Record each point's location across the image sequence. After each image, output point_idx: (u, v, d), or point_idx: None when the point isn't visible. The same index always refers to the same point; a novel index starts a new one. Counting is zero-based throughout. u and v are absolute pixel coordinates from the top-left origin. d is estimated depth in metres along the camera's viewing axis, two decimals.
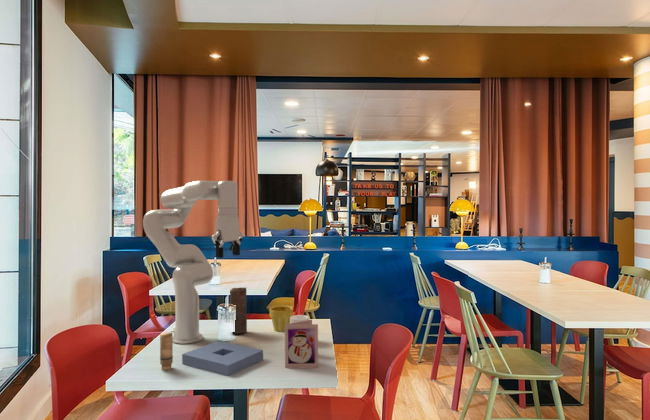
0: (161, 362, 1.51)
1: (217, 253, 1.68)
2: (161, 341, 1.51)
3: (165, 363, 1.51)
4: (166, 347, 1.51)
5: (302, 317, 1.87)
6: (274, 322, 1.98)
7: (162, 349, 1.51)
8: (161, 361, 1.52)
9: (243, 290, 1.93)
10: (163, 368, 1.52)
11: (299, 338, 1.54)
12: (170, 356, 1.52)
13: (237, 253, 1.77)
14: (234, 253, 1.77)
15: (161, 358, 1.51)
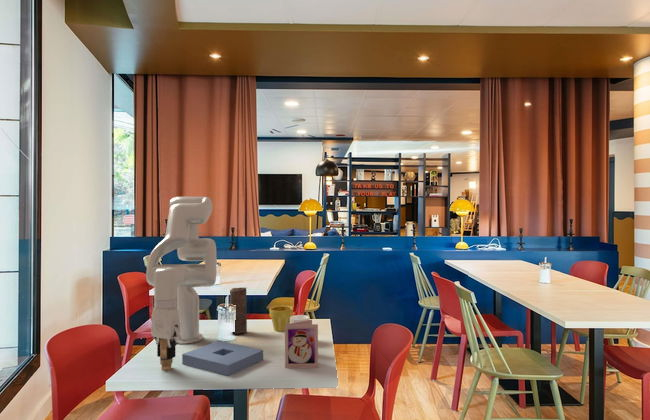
0: (161, 362, 1.51)
1: (172, 353, 1.51)
2: (161, 341, 1.51)
3: (165, 363, 1.51)
4: (166, 347, 1.51)
5: (302, 317, 1.87)
6: (274, 322, 1.98)
7: (162, 349, 1.51)
8: (161, 361, 1.52)
9: (243, 290, 1.93)
10: (163, 368, 1.52)
11: (299, 338, 1.54)
12: None
13: None
14: None
15: (161, 358, 1.51)
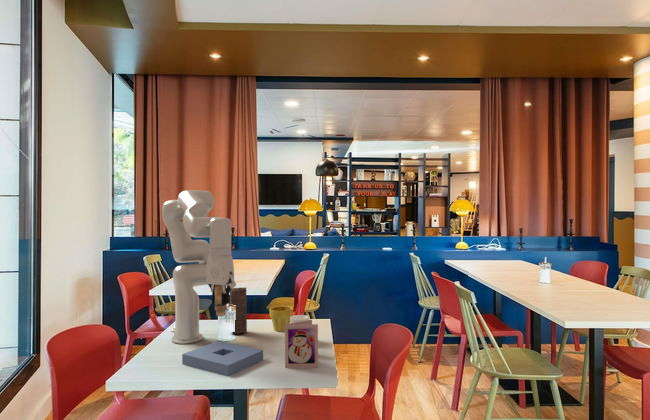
0: (216, 308, 1.58)
1: (227, 299, 1.57)
2: (216, 288, 1.58)
3: (220, 309, 1.57)
4: (221, 294, 1.57)
5: (302, 317, 1.87)
6: (274, 322, 1.98)
7: (217, 295, 1.57)
8: (215, 307, 1.58)
9: (243, 290, 1.93)
10: (218, 314, 1.58)
11: (299, 338, 1.54)
12: None
13: None
14: None
15: (216, 304, 1.58)
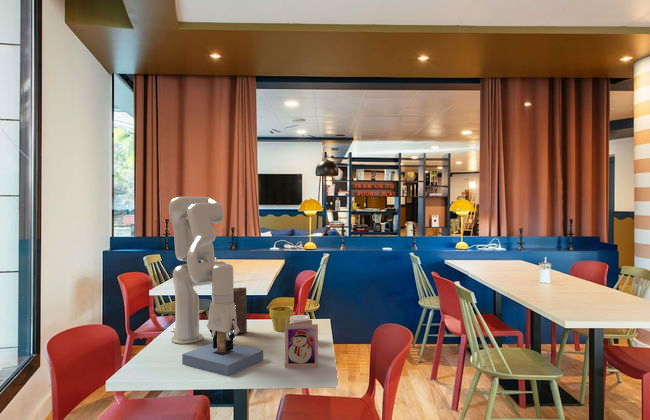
0: None
1: (231, 346, 1.57)
2: (218, 335, 1.58)
3: None
4: (223, 341, 1.58)
5: (302, 317, 1.87)
6: (274, 322, 1.98)
7: (219, 343, 1.58)
8: None
9: (243, 290, 1.93)
10: None
11: (299, 338, 1.54)
12: None
13: None
14: (216, 346, 1.61)
15: (218, 351, 1.58)
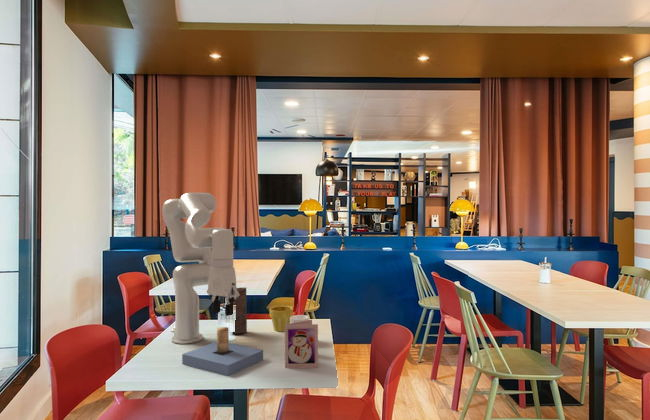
0: None
1: (230, 310, 1.57)
2: (218, 335, 1.58)
3: None
4: (223, 341, 1.58)
5: (302, 317, 1.87)
6: (274, 322, 1.98)
7: (219, 343, 1.58)
8: None
9: (243, 290, 1.93)
10: None
11: (299, 338, 1.54)
12: (227, 350, 1.59)
13: (219, 310, 1.62)
14: (216, 311, 1.60)
15: (218, 351, 1.58)
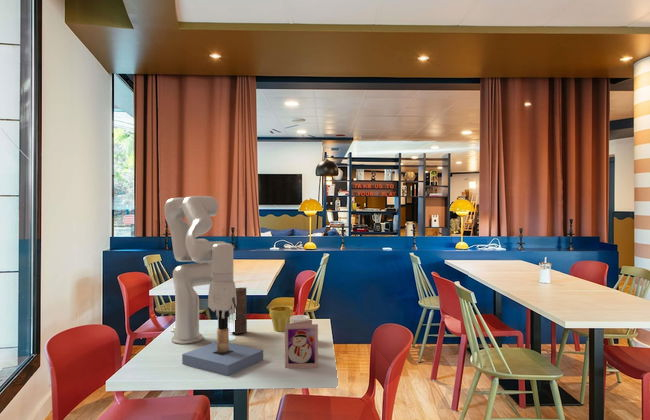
0: None
1: (225, 324, 1.59)
2: (218, 335, 1.58)
3: None
4: (223, 341, 1.58)
5: (302, 317, 1.87)
6: (274, 322, 1.98)
7: (219, 343, 1.58)
8: None
9: (243, 290, 1.93)
10: None
11: (299, 338, 1.54)
12: (227, 350, 1.59)
13: None
14: None
15: (218, 351, 1.58)
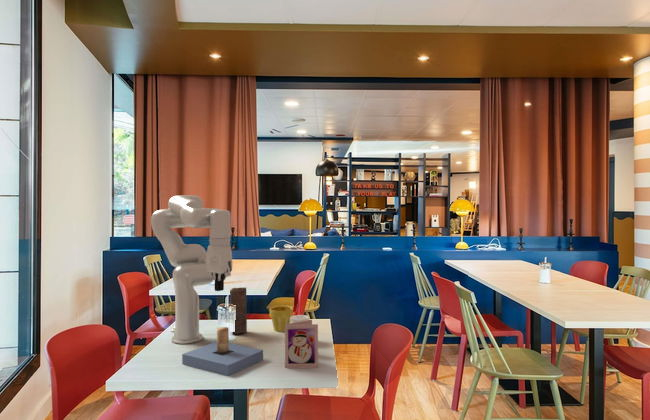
0: None
1: (221, 286, 1.68)
2: (218, 335, 1.58)
3: None
4: (223, 341, 1.58)
5: (302, 317, 1.87)
6: (274, 322, 1.98)
7: (219, 343, 1.58)
8: None
9: (243, 290, 1.93)
10: None
11: (299, 338, 1.54)
12: (227, 350, 1.59)
13: None
14: None
15: (218, 351, 1.58)
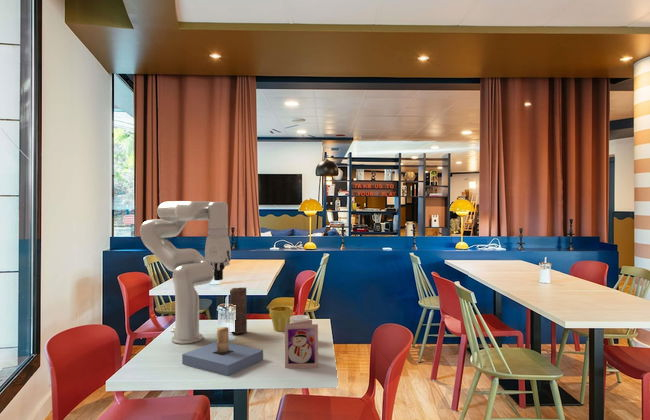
0: None
1: (220, 276, 1.73)
2: (218, 335, 1.58)
3: None
4: (223, 341, 1.58)
5: (302, 317, 1.87)
6: (274, 322, 1.98)
7: (219, 343, 1.58)
8: None
9: (243, 290, 1.93)
10: None
11: (299, 338, 1.54)
12: (227, 350, 1.59)
13: None
14: None
15: (218, 351, 1.58)
